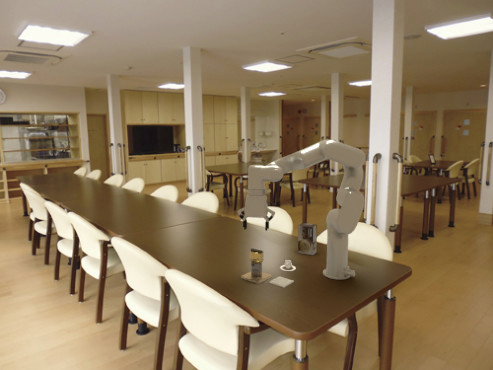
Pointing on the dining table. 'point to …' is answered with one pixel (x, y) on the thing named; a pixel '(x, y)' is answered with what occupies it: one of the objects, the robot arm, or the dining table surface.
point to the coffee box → (307, 238)
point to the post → (256, 274)
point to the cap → (256, 255)
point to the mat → (281, 282)
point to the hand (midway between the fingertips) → (255, 229)
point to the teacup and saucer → (288, 265)
